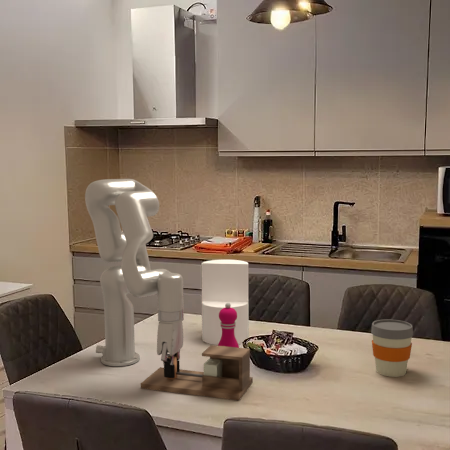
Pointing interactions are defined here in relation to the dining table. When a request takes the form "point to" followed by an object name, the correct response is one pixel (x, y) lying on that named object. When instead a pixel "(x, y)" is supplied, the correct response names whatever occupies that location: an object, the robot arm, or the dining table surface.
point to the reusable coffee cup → (391, 346)
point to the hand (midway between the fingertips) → (171, 374)
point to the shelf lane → (209, 385)
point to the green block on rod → (210, 368)
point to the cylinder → (224, 298)
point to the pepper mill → (228, 326)
